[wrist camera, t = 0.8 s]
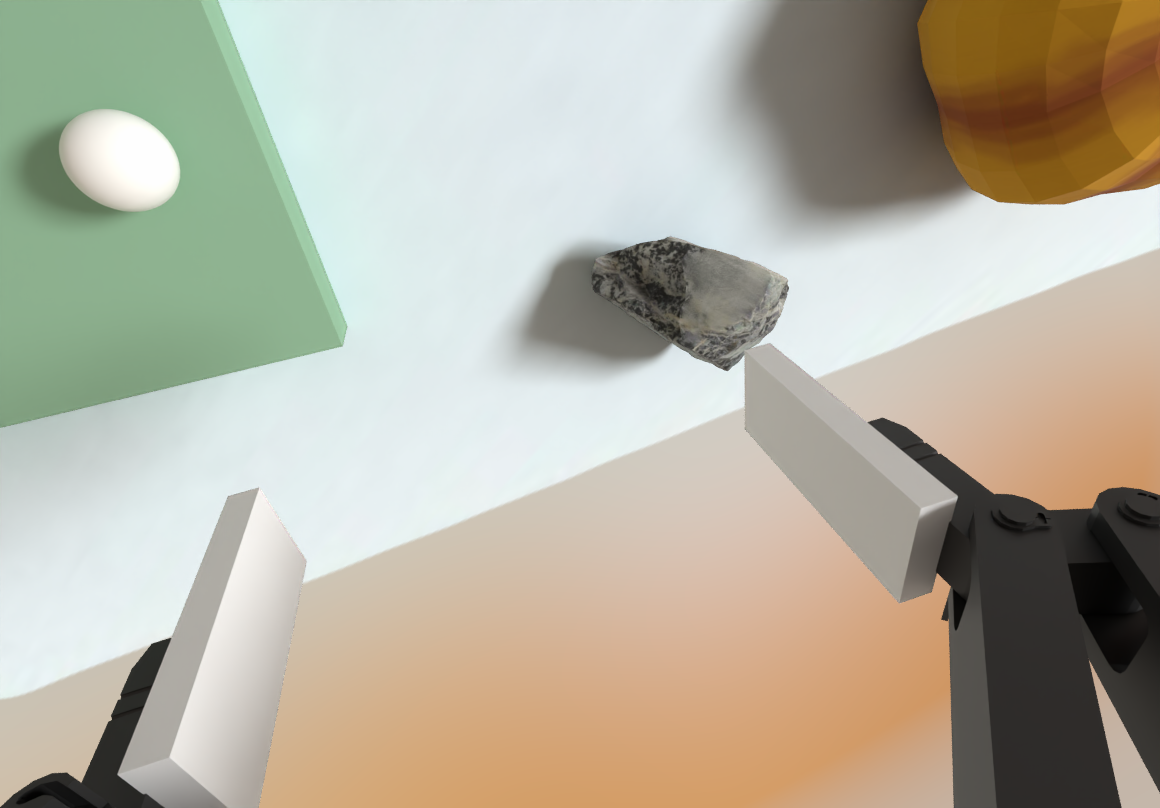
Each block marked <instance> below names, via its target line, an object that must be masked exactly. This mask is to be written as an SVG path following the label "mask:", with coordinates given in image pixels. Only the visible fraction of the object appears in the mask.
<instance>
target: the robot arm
mask: <svg viewBox="0 0 1160 808" xmlns="http://www.w3.org/2000/svg"><path fill="white" fill-rule="evenodd" d="M745 430H746V431H747V432H748V433H749V434H750V435H751V437H752V438H753V439H754V440H755V441H756V442H757V443H758V444H759V446H760V447H761V448H762V449H763V450H764V451H765V452H766V454H767V455H768V456H769V457H770V458H771V459H772V460H773V461H774V463H775V464H776V465H777V466H778V467H779V468H780V469H781V470H782V472H783V473H784V474H785V475H786V476H787V477H788V478H789V480H790V481H791V482H792V483H793V484H794V485H795V486H796V487H797V489H798V490H799V491H800V492H801V493H802V494H803V495H804V497H805V498H806V499H807V500H808V501H809V502H810V503H811V504H812V506H813V507H814V508H815V509H816V510H817V511H818V512H819V513H820V515H821V516H822V517H823V518H824V519H825V520H826V521H827V522H828V523H829V525H830V526H831V527H832V528H833V529H834V530H835V532H836V533H837V534H838V535H839V536H840V537H841V538H842V539H843V541H844V542H845V543H846V544H847V545H848V546H849V547H850V548H851V550H852V551H853V552H854V553H855V554H856V555H857V556H858V557H859V558H860V560H861V561H862V562H863V563H864V564H865V565H866V566H867V568H868V569H869V570H870V571H871V572H872V573H873V574H874V576H875V577H876V578H877V579H878V580H879V581H880V582H881V583H882V585H883V586H884V587H885V588H886V589H887V590H888V591H889V593H890V594H891V595H892V596H893V597H894V598H895V599H896V600H897V602H898V603H902V602H905V601H907V600H910V599H913V598H916V597H919V596H922V595H925V594H927V593H930V592H932V589H933V585H934V582H935V578H936V574H937V573H938V574H939V575H940V576H941V577H942V578H943V579H944V580H945V581H946V582H947V583H948V584H949V585H950V586H951V589H950V592H949V595H948V598H947V602H946V605H945V608H944V612H943V615H942V620H945V621H948V618H949V642H950V643H949V647H950V680H951V681H950V683H951V720H952V758H953V795H954V808H1121V803H1120V799H1119V795H1118V790H1117V786H1116V781H1115V777H1114V772H1113V768H1112V763H1111V758H1110V754H1109V749H1108V745H1107V740H1106V736H1105V731H1104V727H1103V723H1102V717H1101V713H1100V708H1099V704H1098V699H1097V695H1096V690H1095V686H1094V682H1093V677H1092V672H1091V668H1090V663H1089V660H1090V662H1091V664H1092V666H1093V668H1094V669H1095V672H1096V673H1097V675H1098V677H1099V679H1100V681H1101V683H1102V685H1103V686H1104V688H1105V690H1106V692H1107V694H1108V696H1109V698H1110V700H1111V702H1112V704H1113V705H1114V707H1115V709H1116V711H1117V713H1118V715H1119V717H1120V719H1121V720H1122V722H1123V724H1124V726H1125V728H1126V730H1127V732H1128V734H1129V736H1130V737H1131V739H1132V741H1133V743H1134V745H1135V747H1136V748H1137V751H1138V752H1139V754H1140V756H1141V758H1142V760H1143V762H1144V764H1145V766H1146V768H1147V769H1148V771H1149V773H1150V775H1151V777H1152V778H1153V781H1154V783H1155V784H1156V786H1157V788H1158V790H1159V792H1160V495H1158V494H1154V493H1151V492H1148V491H1144V490H1141V489H1134V488H1126V487H1121V488H1111V489H1107V490H1106V491H1103V492H1101V493H1099V495H1098V497H1097V499H1096V502H1095V504H1094V506H1093V508H1092V509H1070V510H1047V509H1045V508H1044V507H1043V506H1041V505H1039V504H1037V503H1035V502H1033V501H1031V500H1029V499H1027V498H1023V497H1019V496H1015V495H1009V494H993V493H992V492H990V491H989V490H988V489H986V488H985V487H984V486H982V485H981V484H980V483H978V482H977V481H976V480H975V479H973V478H972V477H971V476H969V475H968V474H967V473H965V472H964V471H963V470H961V469H960V468H959V467H958V466H956V465H955V464H954V463H952V462H951V461H950V460H948V459H947V458H946V457H944V456H943V455H942V454H938V453H937V451H936V450H935V449H934V448H932V447H931V446H930V445H929V444H927V443H924V442H923V440H922V439H920V438H919V437H918V436H917V435H916V434H914V433H913V432H912V431H910V430H909V429H908V428H906V427H904V426H902V425H900V424H897V423H895V422H892V421H890V420H887V419H885V418H880V419H877V420H873V421H870V422H866V421H865V420H864V419H862V418H861V417H860V416H859V415H858V414H856V413H855V412H854V411H853V410H851V409H850V408H849V407H847V406H846V405H845V404H844V403H843V402H842V401H840V400H839V399H838V398H837V397H835V396H834V395H833V394H832V393H830V392H829V391H828V390H827V389H826V388H824V387H823V386H822V385H821V384H819V383H818V382H817V381H816V380H815V379H813V378H812V377H811V376H810V375H808V374H807V373H806V372H805V371H804V370H802V369H801V368H800V367H799V366H797V365H796V364H795V363H794V362H793V361H791V360H790V359H789V358H788V357H786V356H785V355H784V354H783V353H781V352H780V351H779V350H778V349H777V348H775V347H774V346H773V345H772V344H770V343H769V344H765V345H761V346H758V347H754V348H751V349H747V350H745ZM306 562H307V561H306V559H305V558H304V556H303V555H302V553H301V551H300V550H299V548H298V547H297V545H296V544H295V542H294V541H293V539H292V537H291V536H290V534H289V533H288V531H287V530H286V528H285V526H284V525H283V523H282V522H281V520H280V519H279V517H278V515H277V514H276V512H275V511H274V509H273V508H272V506H271V505H270V503H269V501H268V500H267V498H266V497H265V495H264V494H263V492H262V490H261V489H260V487H259V488H256V489H252V490H248V491H245V492H241V493H238V494H234V495H231V496H228V497H227V500H226V502H225V505H224V508H223V510H222V513H221V515H220V518H219V520H218V523H217V525H216V528H215V530H214V533H213V535H212V538H211V540H210V543H209V545H208V548H207V550H206V553H205V555H204V558H203V560H202V563H201V565H200V568H199V570H198V573H197V575H196V578H195V580H194V583H193V585H192V588H191V590H190V593H189V596H188V598H187V601H186V603H185V606H184V608H183V611H182V613H181V616H180V618H179V621H178V623H177V626H176V628H175V631H174V633H173V636H172V638H169V639H166V640H162V641H159V642H156V643H153V644H151V646H150V647H149V648H148V650H147V651H146V652H145V653H144V655H143V656H142V657H141V658H140V660H139V661H138V662H137V663H136V665H135V666H134V667H133V668H132V670H131V672H130V674H129V676H128V679H127V681H126V683H125V686H124V688H123V690H122V692H121V699H120V700H118V701H117V704H116V706H115V708H114V710H113V713H112V715H111V717H112V720H111V721H109V722H108V724H107V726H106V729H105V731H104V733H103V735H102V738H101V740H100V742H99V744H98V747H97V749H96V751H95V753H94V756H93V758H92V760H91V762H90V765H89V767H88V770H87V772H86V774H85V776H84V778H83V781H82V783H80V782H79V781H78V780H76V779H75V778H74V777H72V776H70V775H69V774H68V773H52V774H49V775H47V776H45V777H42V778H40V779H37V780H35V781H33V782H32V783H30V784H29V785H27V786H26V787H24V788H23V789H21V790H20V791H18V792H17V793H15V794H14V795H13V796H12V797H11V798H10V799H9V800H7V801H6V803H4V804H3V805H2V806H1V807H0V808H259V803H260V798H261V793H262V787H263V782H264V777H265V772H266V767H267V762H268V757H269V752H270V746H271V741H272V736H273V731H274V726H275V721H276V715H277V711H278V705H279V699H280V695H281V690H282V685H283V680H284V675H285V669H286V664H287V659H288V654H289V649H290V644H291V639H292V633H293V628H294V623H295V618H296V612H297V607H298V602H299V597H300V592H301V587H302V582H303V577H304V572H305V567H306ZM1088 658H1089V659H1088Z"/></svg>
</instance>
